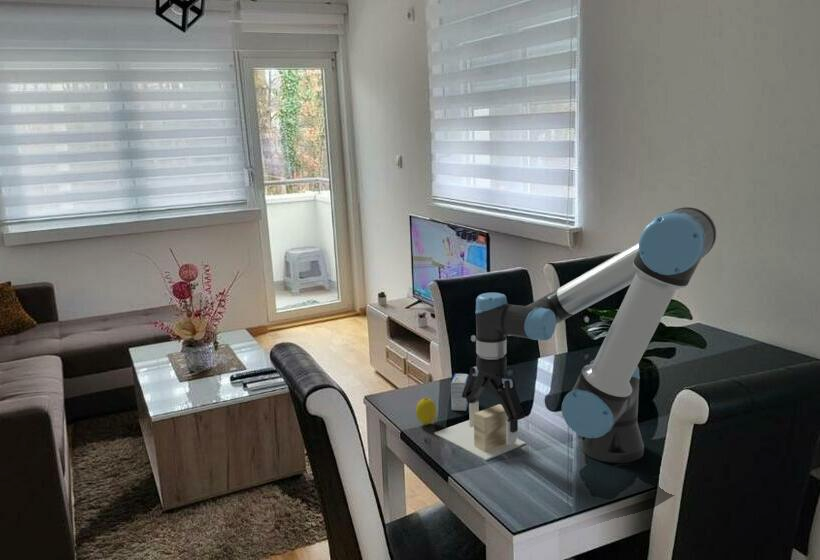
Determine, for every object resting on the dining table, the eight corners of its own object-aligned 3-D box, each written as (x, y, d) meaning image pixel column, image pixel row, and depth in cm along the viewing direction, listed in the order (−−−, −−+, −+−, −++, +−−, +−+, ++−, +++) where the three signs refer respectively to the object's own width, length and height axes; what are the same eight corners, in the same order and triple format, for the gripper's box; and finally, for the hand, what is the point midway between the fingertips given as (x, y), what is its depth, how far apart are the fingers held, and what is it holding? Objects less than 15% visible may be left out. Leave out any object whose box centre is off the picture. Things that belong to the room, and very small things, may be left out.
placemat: (525, 444, 170) (525, 442, 170) (485, 460, 162) (485, 459, 162) (473, 419, 186) (473, 418, 186) (434, 433, 178) (434, 432, 178)
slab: (485, 451, 166) (484, 418, 164) (474, 446, 169) (473, 413, 167) (510, 441, 171) (510, 408, 169) (499, 436, 174) (499, 404, 172)
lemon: (413, 422, 185) (412, 395, 184) (431, 419, 187) (431, 392, 186) (420, 430, 180) (419, 402, 179) (439, 426, 182) (438, 399, 181)
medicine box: (466, 411, 192) (465, 383, 190) (451, 410, 193) (450, 382, 191) (469, 400, 200) (469, 373, 198) (454, 400, 200) (454, 373, 199)
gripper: (539, 363, 157) (538, 446, 162) (469, 340, 177) (470, 415, 181) (517, 371, 153) (517, 455, 157) (447, 346, 173) (449, 422, 177)
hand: (492, 434), depth 169 cm, fingers open, 13 cm apart
